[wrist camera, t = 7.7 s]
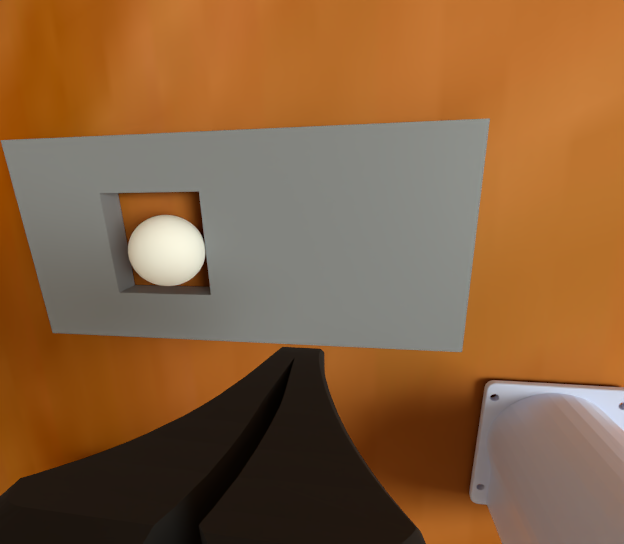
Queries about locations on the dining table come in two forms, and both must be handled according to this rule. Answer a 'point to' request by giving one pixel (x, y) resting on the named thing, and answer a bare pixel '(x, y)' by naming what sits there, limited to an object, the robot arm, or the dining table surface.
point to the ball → (166, 250)
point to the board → (265, 232)
